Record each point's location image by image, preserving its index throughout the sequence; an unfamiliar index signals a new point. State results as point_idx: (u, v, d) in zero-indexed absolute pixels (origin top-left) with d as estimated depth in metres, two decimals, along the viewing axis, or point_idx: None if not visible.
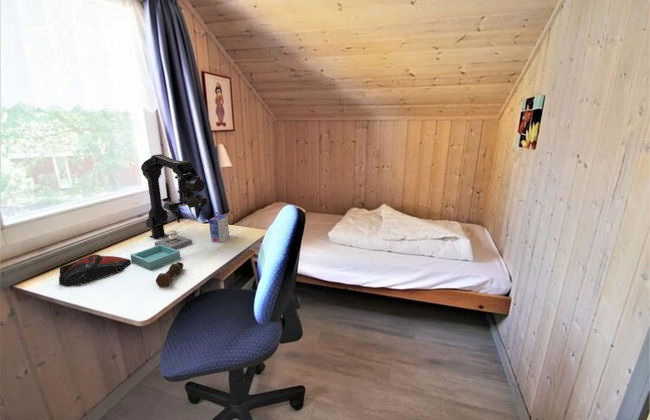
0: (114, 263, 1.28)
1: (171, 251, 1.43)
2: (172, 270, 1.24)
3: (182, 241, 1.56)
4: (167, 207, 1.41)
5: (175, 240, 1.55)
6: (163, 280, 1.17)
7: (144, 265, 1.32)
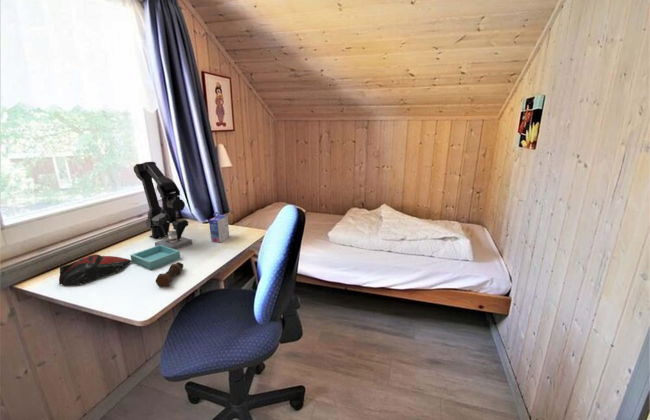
0: (115, 263, 1.28)
1: (171, 251, 1.43)
2: (172, 270, 1.23)
3: (182, 241, 1.56)
4: None
5: (175, 240, 1.55)
6: (163, 280, 1.17)
7: (144, 265, 1.32)
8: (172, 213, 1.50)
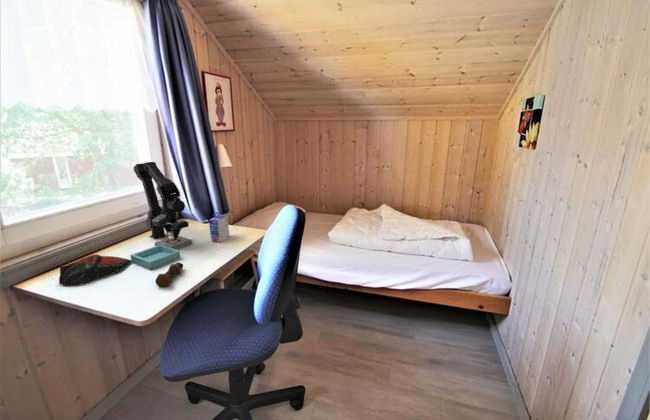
0: (115, 263, 1.28)
1: (171, 251, 1.43)
2: (172, 270, 1.23)
3: (182, 241, 1.56)
4: None
5: (175, 240, 1.55)
6: (163, 280, 1.17)
7: (144, 265, 1.32)
8: (172, 214, 1.50)
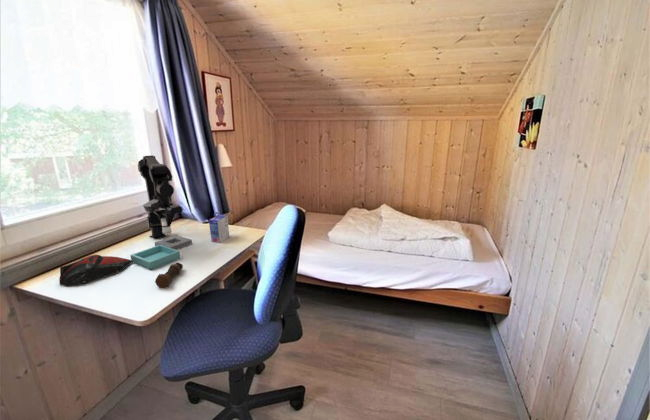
0: (115, 264, 1.27)
1: (171, 251, 1.43)
2: (171, 271, 1.23)
3: (182, 241, 1.56)
4: None
5: (168, 227, 1.47)
6: (163, 280, 1.17)
7: (144, 265, 1.32)
8: (165, 199, 1.42)
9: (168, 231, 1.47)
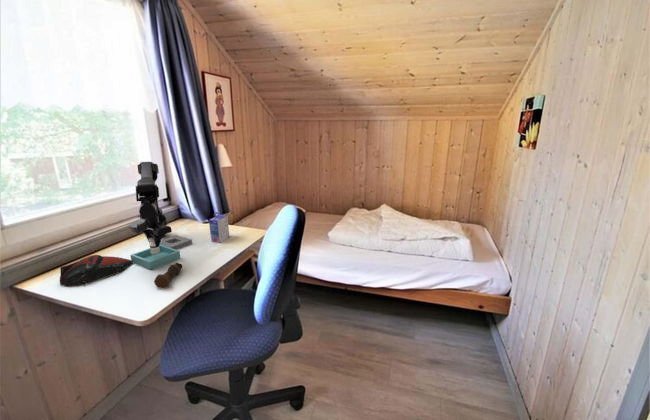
0: (115, 264, 1.27)
1: (171, 251, 1.43)
2: (171, 271, 1.23)
3: (182, 241, 1.56)
4: None
5: (157, 247, 1.37)
6: (162, 281, 1.17)
7: (144, 265, 1.32)
8: (153, 218, 1.32)
9: (156, 252, 1.37)
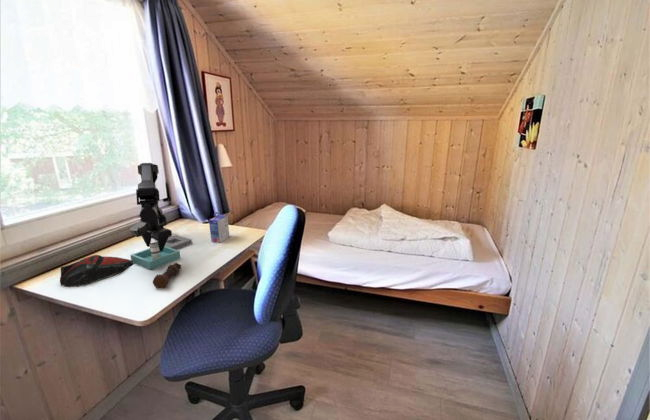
0: (116, 264, 1.27)
1: (171, 251, 1.43)
2: (169, 271, 1.23)
3: (182, 241, 1.56)
4: None
5: (157, 253, 1.38)
6: (160, 281, 1.16)
7: (144, 265, 1.32)
8: (153, 221, 1.33)
9: (157, 257, 1.38)
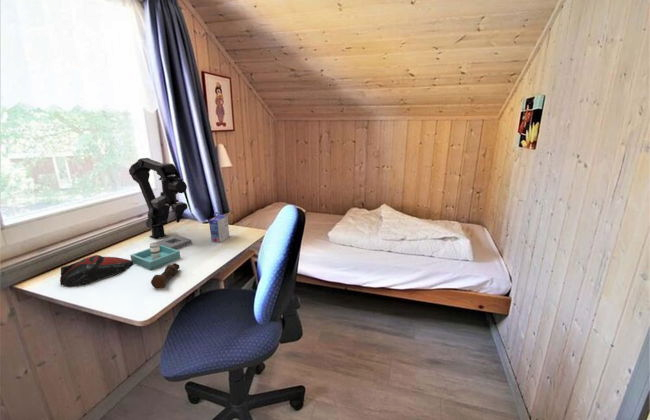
0: (116, 264, 1.27)
1: (171, 251, 1.43)
2: (168, 271, 1.22)
3: (182, 241, 1.56)
4: None
5: (157, 253, 1.38)
6: (159, 281, 1.16)
7: (144, 265, 1.32)
8: (172, 196, 1.51)
9: (157, 257, 1.38)
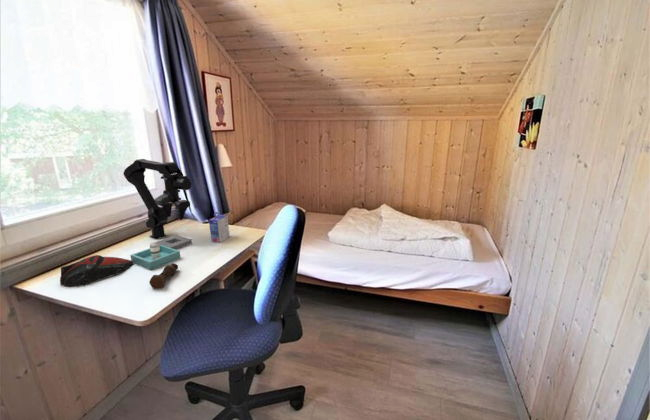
0: (116, 264, 1.27)
1: (171, 251, 1.43)
2: (166, 271, 1.22)
3: (182, 241, 1.56)
4: None
5: (157, 253, 1.38)
6: (157, 281, 1.16)
7: (144, 265, 1.32)
8: (174, 194, 1.54)
9: (157, 257, 1.38)
